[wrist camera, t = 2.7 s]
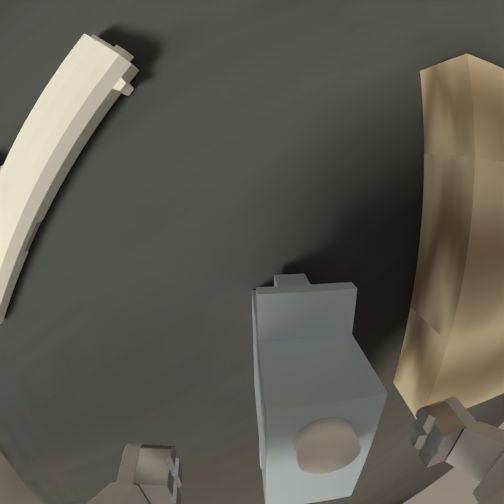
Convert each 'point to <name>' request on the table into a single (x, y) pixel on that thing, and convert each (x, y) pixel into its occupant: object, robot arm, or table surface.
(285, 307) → the block
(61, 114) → the pistol
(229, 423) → the table surface
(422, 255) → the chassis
